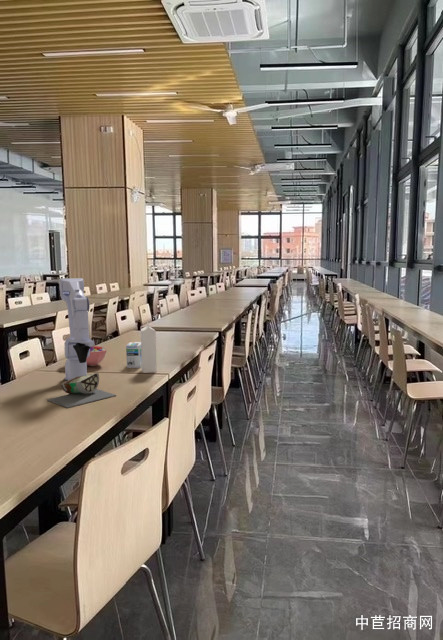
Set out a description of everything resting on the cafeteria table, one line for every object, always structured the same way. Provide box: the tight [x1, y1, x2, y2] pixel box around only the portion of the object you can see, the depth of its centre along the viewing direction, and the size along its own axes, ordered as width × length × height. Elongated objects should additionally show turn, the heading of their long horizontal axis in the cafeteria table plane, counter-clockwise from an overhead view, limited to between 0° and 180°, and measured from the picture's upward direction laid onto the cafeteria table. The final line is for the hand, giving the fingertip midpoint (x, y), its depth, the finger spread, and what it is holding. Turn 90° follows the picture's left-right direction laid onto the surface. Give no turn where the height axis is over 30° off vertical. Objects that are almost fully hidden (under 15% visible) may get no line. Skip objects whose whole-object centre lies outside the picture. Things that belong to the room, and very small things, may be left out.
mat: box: [46, 388, 117, 409], centre depth 180 cm, size 14×20×1 cm
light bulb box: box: [125, 341, 142, 369], centre depth 234 cm, size 11×7×11 cm, turn 179°
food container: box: [60, 372, 100, 395], centre depth 185 cm, size 12×6×10 cm
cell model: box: [86, 345, 108, 367], centre depth 233 cm, size 17×20×11 cm
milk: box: [140, 322, 158, 374], centre depth 221 cm, size 6×6×22 cm
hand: (82, 362), depth 192 cm, fingers closed
